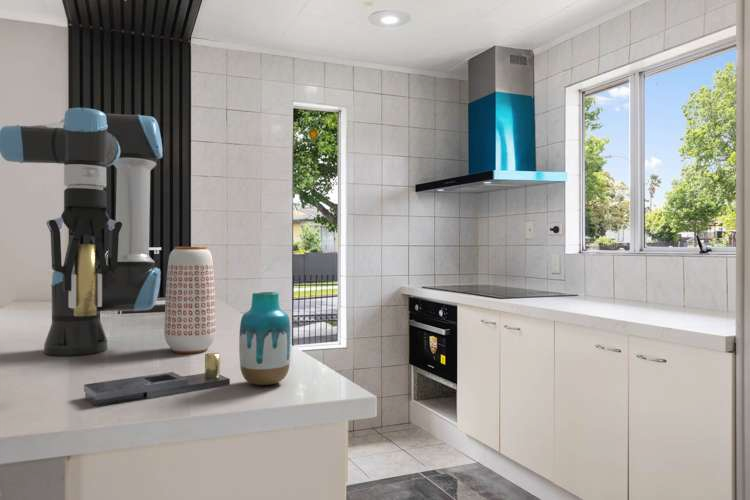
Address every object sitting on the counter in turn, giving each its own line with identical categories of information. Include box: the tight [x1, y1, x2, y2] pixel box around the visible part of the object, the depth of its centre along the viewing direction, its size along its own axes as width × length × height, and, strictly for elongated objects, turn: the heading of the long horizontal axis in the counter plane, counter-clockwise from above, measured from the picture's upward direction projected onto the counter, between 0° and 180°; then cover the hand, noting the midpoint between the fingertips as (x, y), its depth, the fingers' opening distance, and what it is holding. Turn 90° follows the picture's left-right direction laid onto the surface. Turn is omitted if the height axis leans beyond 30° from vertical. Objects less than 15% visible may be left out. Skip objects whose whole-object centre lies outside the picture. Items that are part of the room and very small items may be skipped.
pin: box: [73, 243, 97, 316], centre depth 115 cm, size 4×4×14 cm
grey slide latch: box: [83, 352, 231, 407], centre depth 115 cm, size 8×26×6 cm, turn 131°
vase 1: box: [163, 246, 217, 354], centre depth 157 cm, size 13×13×28 cm
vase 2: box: [238, 291, 292, 386], centre depth 121 cm, size 11×11×19 cm
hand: (85, 306), depth 115 cm, fingers closed on pin, 4 cm apart
